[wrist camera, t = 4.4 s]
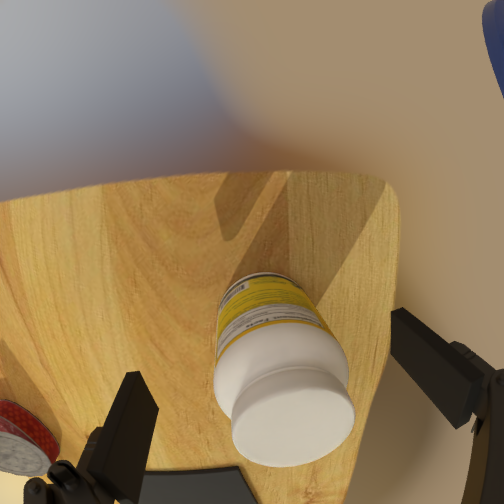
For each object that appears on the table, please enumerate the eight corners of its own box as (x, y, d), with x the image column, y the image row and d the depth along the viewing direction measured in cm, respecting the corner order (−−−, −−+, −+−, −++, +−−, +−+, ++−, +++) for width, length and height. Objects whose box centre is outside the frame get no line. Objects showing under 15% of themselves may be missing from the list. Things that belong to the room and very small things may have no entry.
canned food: (27, 378, 25) (0, 406, 16) (77, 440, 27) (69, 482, 18) (-20, 412, 21) (-48, 441, 12) (28, 468, 22) (14, 508, 13)
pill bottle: (296, 354, 21) (340, 473, 10) (212, 344, 20) (203, 473, 10) (317, 275, 20) (400, 371, 9) (225, 261, 19) (221, 363, 8)
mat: (237, 465, 24) (238, 470, 23) (263, 513, 27) (264, 516, 27) (104, 469, 24) (103, 472, 23) (154, 517, 27) (154, 520, 27)
